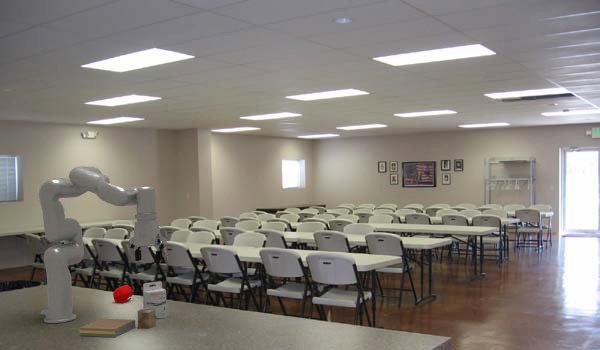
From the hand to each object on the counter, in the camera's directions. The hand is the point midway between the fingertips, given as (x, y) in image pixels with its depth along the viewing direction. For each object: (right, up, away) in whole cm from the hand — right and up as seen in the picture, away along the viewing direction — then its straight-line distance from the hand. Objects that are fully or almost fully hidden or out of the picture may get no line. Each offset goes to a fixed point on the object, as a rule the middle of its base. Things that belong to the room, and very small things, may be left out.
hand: (148, 260), depth 223 cm
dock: (-14, -26, -6) cm, 30 cm away
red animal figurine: (-25, -27, +47) cm, 60 cm away
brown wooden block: (0, -26, -1) cm, 26 cm away
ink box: (-1, -26, +13) cm, 29 cm away
